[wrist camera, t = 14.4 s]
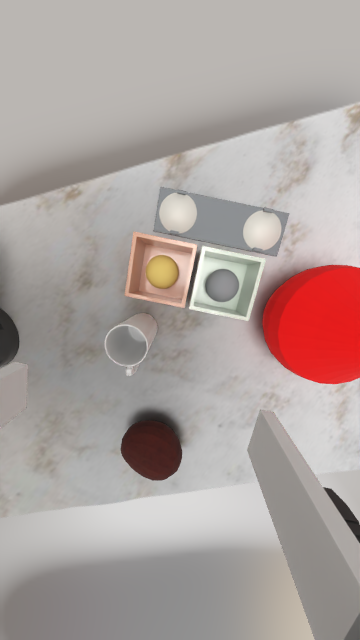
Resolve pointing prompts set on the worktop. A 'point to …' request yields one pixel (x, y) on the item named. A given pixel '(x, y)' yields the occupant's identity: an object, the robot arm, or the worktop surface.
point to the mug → (131, 341)
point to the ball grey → (222, 285)
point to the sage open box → (247, 275)
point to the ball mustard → (162, 271)
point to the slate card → (220, 221)
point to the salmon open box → (140, 256)
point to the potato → (152, 449)
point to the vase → (317, 324)
